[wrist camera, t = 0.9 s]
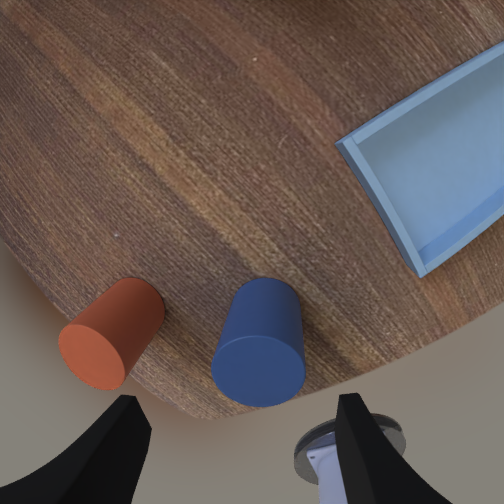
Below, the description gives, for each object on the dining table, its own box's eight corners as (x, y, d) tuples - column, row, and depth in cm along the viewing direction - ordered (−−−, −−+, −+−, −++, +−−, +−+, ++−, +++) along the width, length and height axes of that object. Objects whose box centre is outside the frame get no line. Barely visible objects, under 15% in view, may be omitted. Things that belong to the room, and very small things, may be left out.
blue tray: (406, 264, 19) (420, 279, 17) (333, 143, 17) (341, 141, 15) (561, 137, 14) (580, 138, 12) (513, 35, 13) (531, 28, 10)
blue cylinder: (308, 327, 21) (316, 396, 15) (246, 344, 22) (232, 414, 15) (287, 268, 20) (288, 324, 13) (221, 289, 21) (194, 349, 14)
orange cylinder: (175, 325, 22) (139, 386, 16) (127, 337, 23) (85, 392, 16) (147, 269, 21) (96, 316, 14) (100, 287, 22) (46, 332, 15)
